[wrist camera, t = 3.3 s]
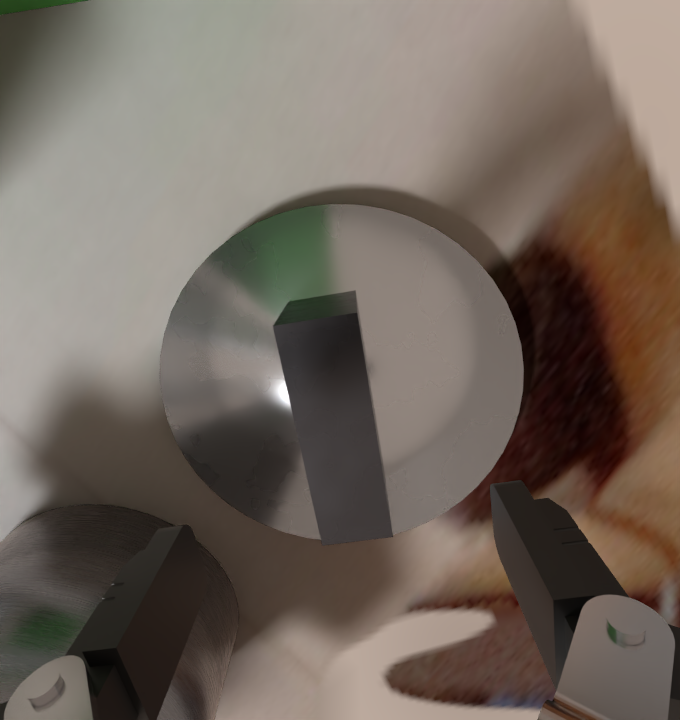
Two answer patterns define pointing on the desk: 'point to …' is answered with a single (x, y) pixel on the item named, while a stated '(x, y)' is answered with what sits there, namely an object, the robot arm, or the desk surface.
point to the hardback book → (30, 4)
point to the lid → (341, 372)
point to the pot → (86, 589)
